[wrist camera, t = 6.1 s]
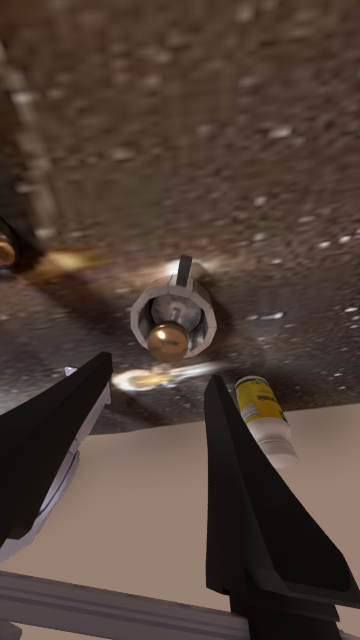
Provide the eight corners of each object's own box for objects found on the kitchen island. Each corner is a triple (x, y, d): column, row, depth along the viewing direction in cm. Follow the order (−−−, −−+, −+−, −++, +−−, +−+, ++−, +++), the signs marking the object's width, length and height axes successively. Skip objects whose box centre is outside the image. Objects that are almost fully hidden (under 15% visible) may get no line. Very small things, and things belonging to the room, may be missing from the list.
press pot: (201, 343, 21) (202, 364, 18) (141, 330, 21) (130, 349, 18) (229, 264, 15) (239, 272, 12) (146, 245, 15) (131, 248, 12)
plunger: (194, 336, 20) (193, 376, 14) (150, 326, 20) (132, 364, 14) (206, 294, 17) (212, 325, 11) (154, 283, 17) (133, 308, 11)
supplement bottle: (275, 383, 24) (318, 463, 15) (251, 398, 26) (276, 473, 18) (250, 369, 23) (281, 447, 14) (227, 386, 25) (243, 461, 17)
